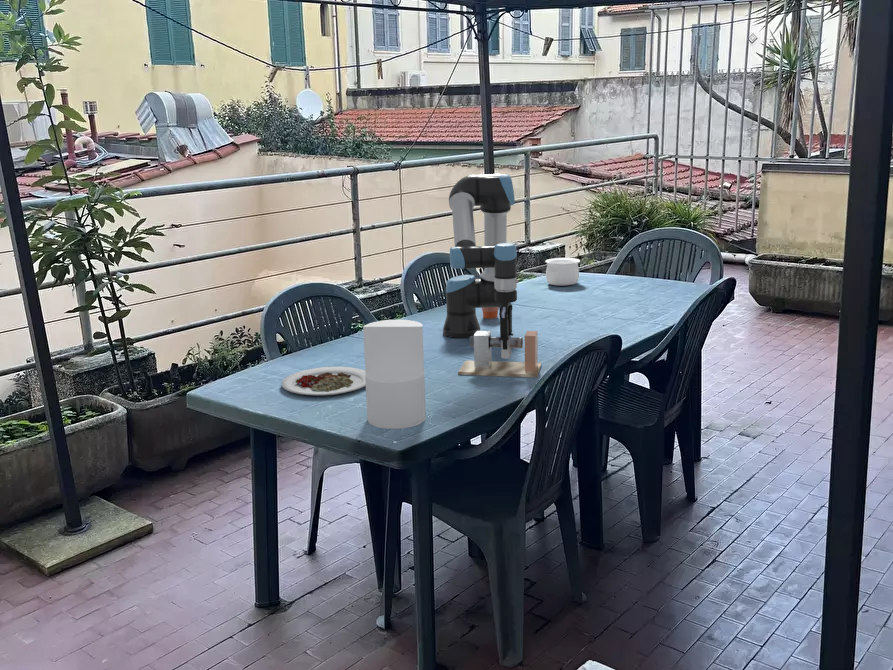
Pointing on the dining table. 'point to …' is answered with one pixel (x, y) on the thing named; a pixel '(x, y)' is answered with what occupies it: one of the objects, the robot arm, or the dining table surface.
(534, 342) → the tan upright block
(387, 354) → the cylinder
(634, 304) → the dining table surface
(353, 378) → the plated food
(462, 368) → the base board
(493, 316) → the cup with straw
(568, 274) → the pot
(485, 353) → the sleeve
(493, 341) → the rod
